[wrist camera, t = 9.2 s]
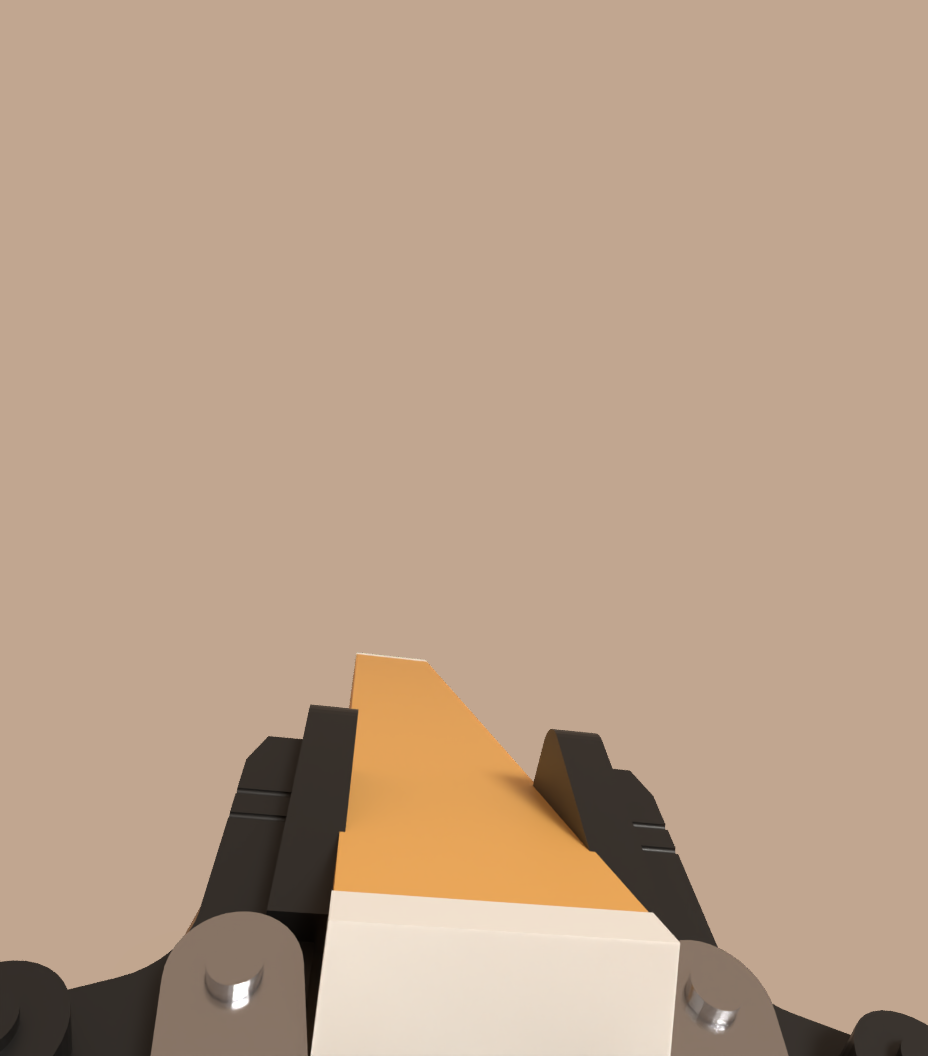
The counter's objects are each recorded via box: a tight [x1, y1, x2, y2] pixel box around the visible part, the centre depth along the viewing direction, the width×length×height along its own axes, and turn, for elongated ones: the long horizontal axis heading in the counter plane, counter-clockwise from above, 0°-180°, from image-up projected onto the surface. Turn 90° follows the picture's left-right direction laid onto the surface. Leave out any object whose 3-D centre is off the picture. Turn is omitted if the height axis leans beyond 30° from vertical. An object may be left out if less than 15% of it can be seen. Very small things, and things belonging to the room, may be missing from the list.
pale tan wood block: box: [310, 652, 680, 1056], centre depth 19 cm, size 26×3×3 cm, turn 8°
